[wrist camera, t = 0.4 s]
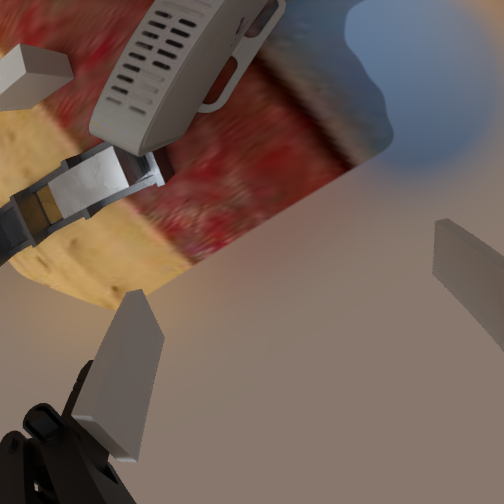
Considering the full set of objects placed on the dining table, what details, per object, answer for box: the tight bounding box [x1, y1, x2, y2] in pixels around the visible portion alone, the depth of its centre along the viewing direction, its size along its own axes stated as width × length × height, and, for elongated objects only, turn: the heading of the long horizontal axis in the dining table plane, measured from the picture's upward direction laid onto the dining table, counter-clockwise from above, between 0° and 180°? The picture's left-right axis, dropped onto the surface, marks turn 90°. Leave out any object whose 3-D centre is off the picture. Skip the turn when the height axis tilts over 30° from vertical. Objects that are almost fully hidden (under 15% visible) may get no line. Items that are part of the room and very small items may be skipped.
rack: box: [0, 141, 175, 266], centre depth 31 cm, size 8×31×12 cm, turn 109°
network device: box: [89, 0, 286, 157], centre depth 21 cm, size 26×9×20 cm, turn 150°
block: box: [0, 43, 74, 112], centre depth 24 cm, size 4×8×11 cm, turn 109°
